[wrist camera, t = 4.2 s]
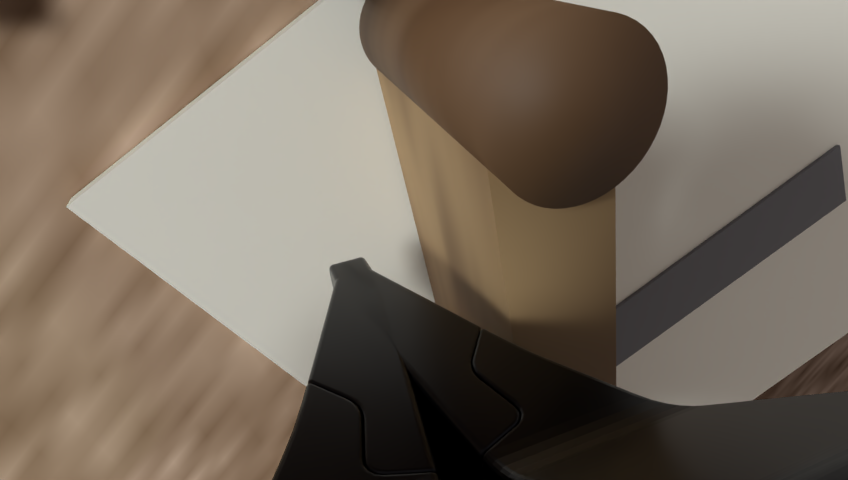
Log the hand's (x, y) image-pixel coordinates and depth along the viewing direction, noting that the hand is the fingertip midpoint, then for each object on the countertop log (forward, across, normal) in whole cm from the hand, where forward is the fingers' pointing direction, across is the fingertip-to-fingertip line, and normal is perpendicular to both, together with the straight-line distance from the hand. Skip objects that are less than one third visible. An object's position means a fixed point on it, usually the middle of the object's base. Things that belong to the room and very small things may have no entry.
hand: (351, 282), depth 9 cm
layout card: (+2, -8, +3) cm, 9 cm away
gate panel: (+2, -3, +1) cm, 3 cm away
